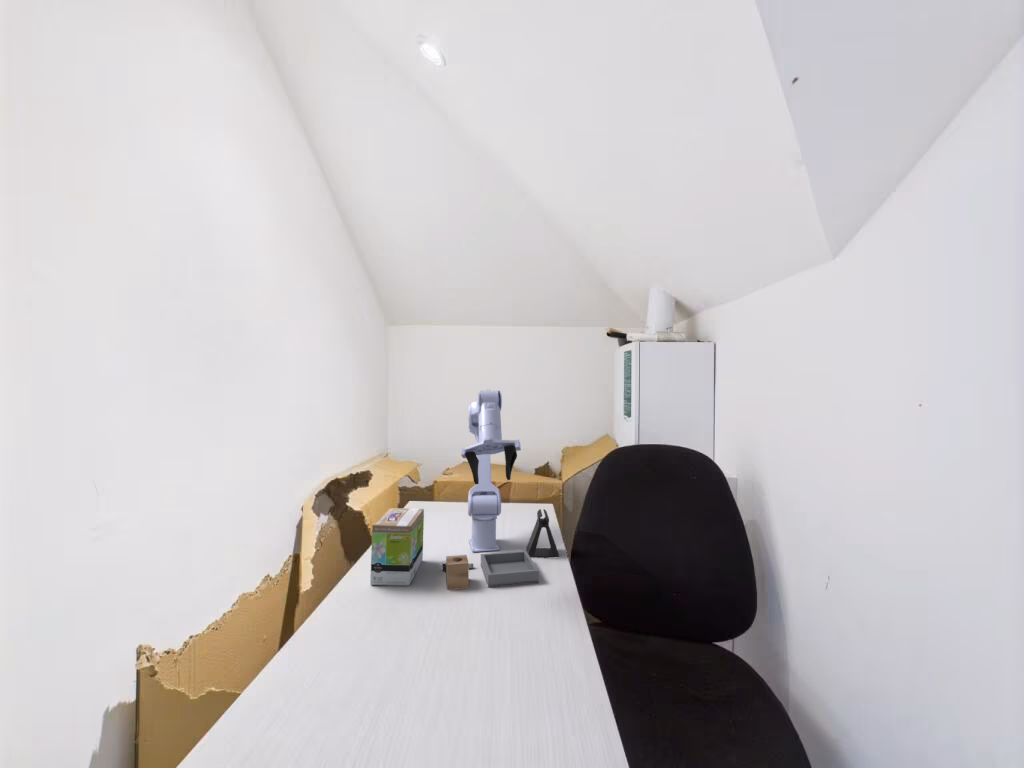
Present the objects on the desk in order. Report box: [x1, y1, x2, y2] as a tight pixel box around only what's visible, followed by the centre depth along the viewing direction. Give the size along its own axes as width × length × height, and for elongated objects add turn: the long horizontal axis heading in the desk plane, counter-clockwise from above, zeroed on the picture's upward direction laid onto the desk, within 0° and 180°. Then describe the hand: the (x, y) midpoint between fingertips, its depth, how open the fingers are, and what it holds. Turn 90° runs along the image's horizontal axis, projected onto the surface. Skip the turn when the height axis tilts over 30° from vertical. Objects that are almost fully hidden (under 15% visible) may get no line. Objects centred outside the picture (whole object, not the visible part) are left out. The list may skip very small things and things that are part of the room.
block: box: [445, 554, 470, 591], centre depth 103 cm, size 5×5×6 cm
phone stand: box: [526, 508, 560, 559], centre depth 122 cm, size 9×6×12 cm, turn 90°
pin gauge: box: [442, 562, 474, 572], centre depth 111 cm, size 8×2×2 cm, turn 103°
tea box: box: [369, 507, 425, 586], centre depth 109 cm, size 15×10×15 cm, turn 0°
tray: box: [480, 550, 540, 588], centre depth 109 cm, size 13×13×3 cm
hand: (492, 480), depth 98 cm, fingers open, 7 cm apart
